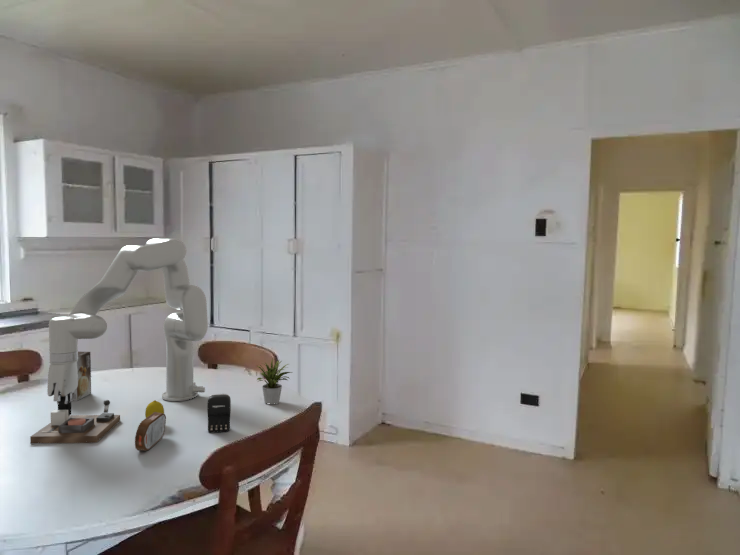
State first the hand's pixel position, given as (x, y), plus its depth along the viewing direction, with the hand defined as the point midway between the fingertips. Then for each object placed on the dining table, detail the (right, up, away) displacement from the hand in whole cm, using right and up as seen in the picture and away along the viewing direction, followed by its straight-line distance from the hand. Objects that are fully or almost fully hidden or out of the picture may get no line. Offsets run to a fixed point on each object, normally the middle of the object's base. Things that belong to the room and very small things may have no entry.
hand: (64, 415), depth 162 cm
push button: (+7, -2, -6) cm, 9 cm away
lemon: (+26, -4, +4) cm, 27 cm away
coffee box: (-13, -1, +30) cm, 33 cm away
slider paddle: (0, -2, -3) cm, 4 cm away
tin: (+32, -6, -11) cm, 34 cm away
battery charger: (+48, -5, 0) cm, 48 cm away
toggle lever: (+11, -1, +2) cm, 12 cm away
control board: (+6, -4, -3) cm, 8 cm away
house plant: (+58, -3, +28) cm, 65 cm away
